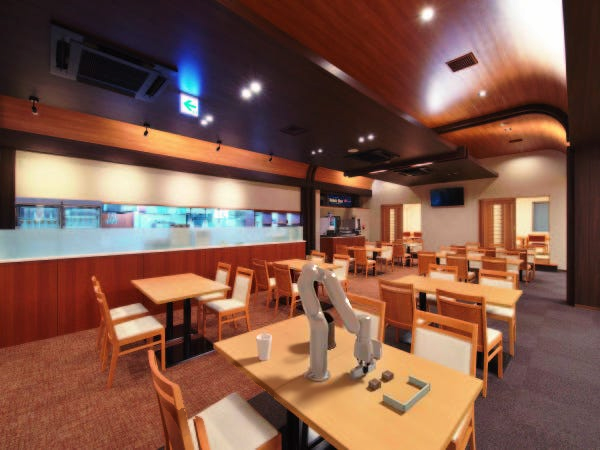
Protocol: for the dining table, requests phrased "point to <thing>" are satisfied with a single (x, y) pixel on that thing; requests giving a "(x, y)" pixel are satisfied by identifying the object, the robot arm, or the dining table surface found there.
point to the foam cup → (264, 346)
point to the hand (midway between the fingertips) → (363, 371)
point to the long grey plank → (361, 370)
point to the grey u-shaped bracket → (413, 400)
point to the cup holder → (330, 330)
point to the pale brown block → (377, 349)
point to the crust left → (374, 384)
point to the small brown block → (387, 375)
